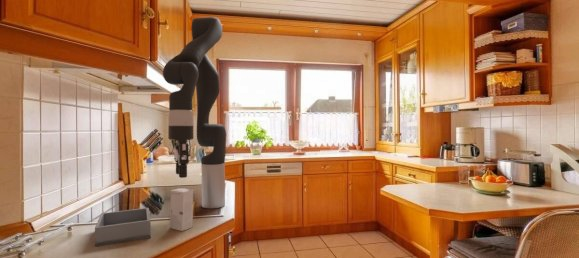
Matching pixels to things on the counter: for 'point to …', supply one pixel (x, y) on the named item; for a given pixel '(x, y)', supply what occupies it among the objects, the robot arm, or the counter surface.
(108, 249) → the counter surface
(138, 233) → the bin
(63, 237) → the counter surface
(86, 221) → the counter surface
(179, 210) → the skincare box
